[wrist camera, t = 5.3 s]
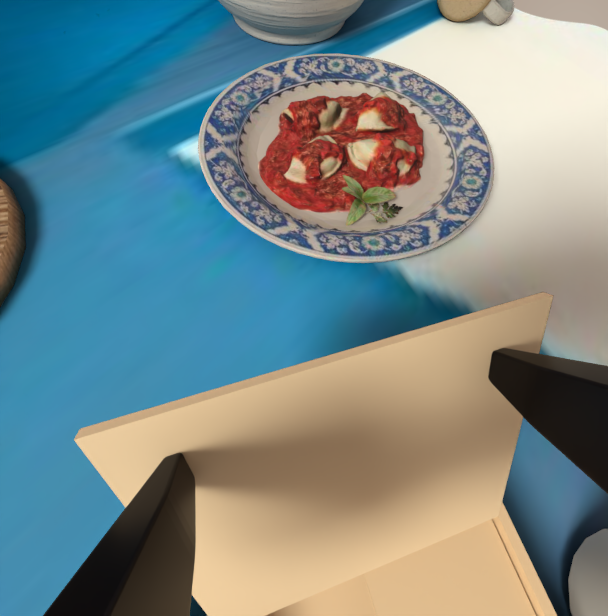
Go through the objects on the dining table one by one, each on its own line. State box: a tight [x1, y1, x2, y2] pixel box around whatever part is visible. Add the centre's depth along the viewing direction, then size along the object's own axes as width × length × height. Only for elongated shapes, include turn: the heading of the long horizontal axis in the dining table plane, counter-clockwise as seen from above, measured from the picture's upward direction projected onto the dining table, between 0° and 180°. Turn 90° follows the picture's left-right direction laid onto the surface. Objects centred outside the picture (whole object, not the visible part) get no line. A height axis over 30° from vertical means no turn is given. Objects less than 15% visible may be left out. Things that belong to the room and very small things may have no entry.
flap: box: [74, 292, 553, 616], centre depth 10 cm, size 1×12×11 cm
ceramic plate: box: [198, 54, 494, 263], centre depth 27 cm, size 26×26×3 cm
